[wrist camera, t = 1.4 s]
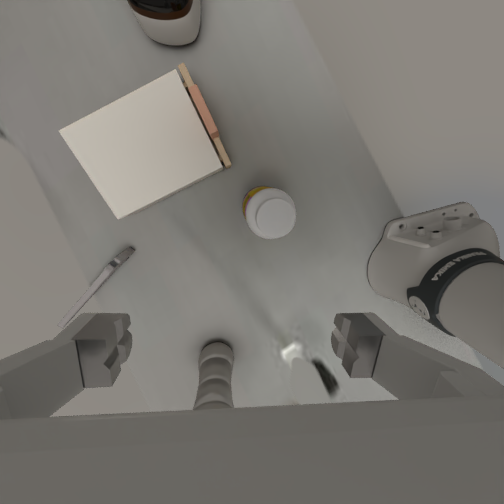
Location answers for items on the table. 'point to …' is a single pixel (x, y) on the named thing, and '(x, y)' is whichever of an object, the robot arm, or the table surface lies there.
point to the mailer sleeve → (143, 146)
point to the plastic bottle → (215, 377)
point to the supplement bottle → (269, 212)
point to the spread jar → (168, 19)
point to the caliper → (96, 285)
